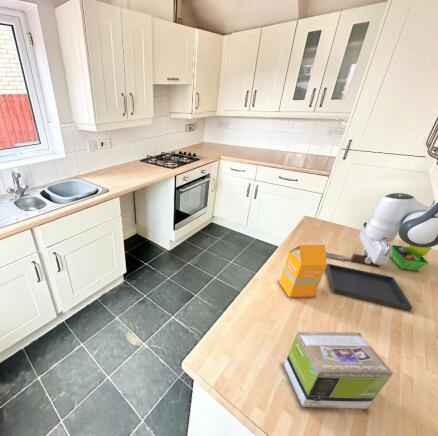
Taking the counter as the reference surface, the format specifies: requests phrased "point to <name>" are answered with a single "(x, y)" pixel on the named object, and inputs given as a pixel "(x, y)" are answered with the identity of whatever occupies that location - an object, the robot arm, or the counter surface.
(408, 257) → the fruit basket
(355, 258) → the fork
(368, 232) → the robot arm
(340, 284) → the tray
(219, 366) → the counter surface
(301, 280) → the orange juice
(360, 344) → the tea box
